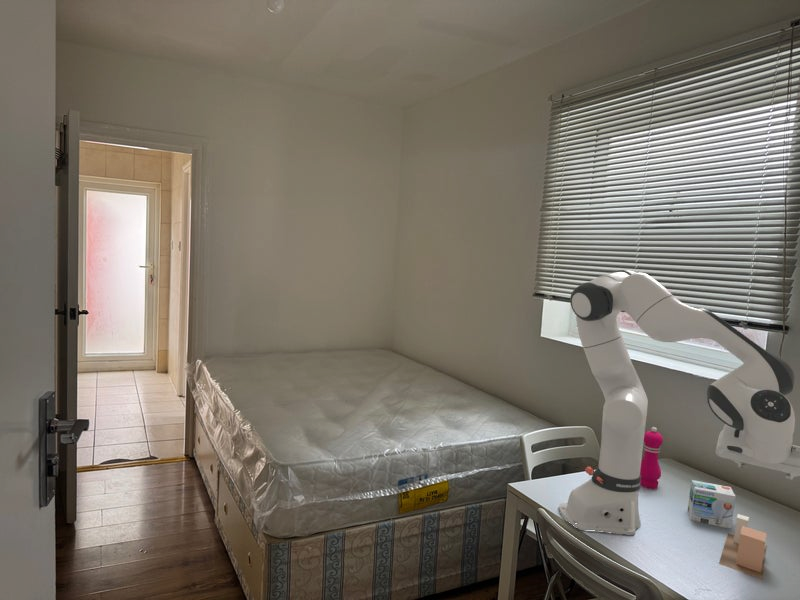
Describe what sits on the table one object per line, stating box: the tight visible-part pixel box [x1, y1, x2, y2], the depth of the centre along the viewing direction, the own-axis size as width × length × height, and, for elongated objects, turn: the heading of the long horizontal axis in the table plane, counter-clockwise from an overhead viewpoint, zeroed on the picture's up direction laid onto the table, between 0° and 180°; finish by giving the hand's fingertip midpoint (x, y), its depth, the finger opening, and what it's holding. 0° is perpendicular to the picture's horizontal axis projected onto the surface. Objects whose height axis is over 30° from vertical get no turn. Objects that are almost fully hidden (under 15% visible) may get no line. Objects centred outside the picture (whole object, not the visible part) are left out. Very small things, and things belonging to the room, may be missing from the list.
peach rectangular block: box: [736, 526, 768, 572], centre depth 135 cm, size 5×5×8 cm
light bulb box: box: [687, 479, 737, 529], centre depth 156 cm, size 11×7×11 cm, turn 70°
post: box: [733, 513, 750, 544], centre depth 145 cm, size 3×3×7 cm
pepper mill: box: [640, 426, 664, 490], centre depth 179 cm, size 7×7×20 cm
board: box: [718, 533, 768, 580], centre depth 139 cm, size 19×9×4 cm, turn 143°
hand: (765, 470), depth 129 cm, fingers open, 8 cm apart
